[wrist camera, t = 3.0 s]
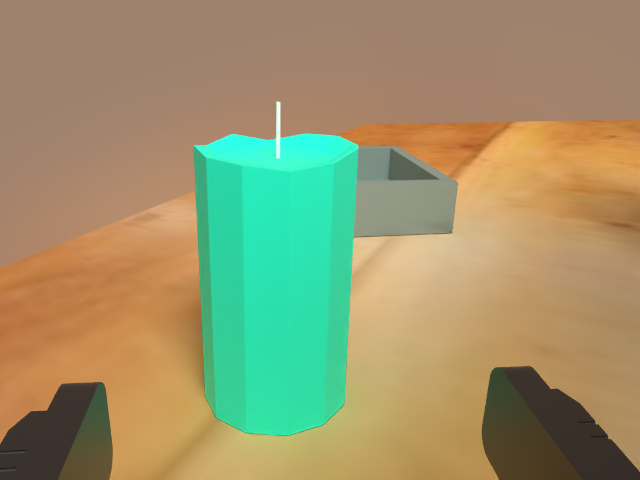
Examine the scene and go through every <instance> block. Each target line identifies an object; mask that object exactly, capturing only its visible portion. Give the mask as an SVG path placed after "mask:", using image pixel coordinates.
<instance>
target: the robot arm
mask: <svg viewBox="0 0 640 480" xmlns="http://www.w3.org/2000/svg"><path fill="white" fill-rule="evenodd" d="M482 440H483V446H484V450H485V453H486V456H487V458H488V460H489V462H490V463H491V465H492V467H493V469H494V471H495V472H496V474H497V476H498V478H499V480H640V472H639V470H638V469H637V468H636V467H635V466H634V465H633V464H632V462H631V461H630V460H629V459H628V458H627V457H626V456H625V454H624V453H623V452H622V451H621V450H620V449H619V448H618V446H617V445H616V444H615V443H614V442H613V441H612V440H611V439H608V435H607V434H606V433H605V432H604V430H603V429H602V428H601V427H600V426H599V425H596V424H595V420H594V419H593V418H592V417H591V416H590V414H589V413H588V412H587V411H586V410H585V409H584V408H583V406H582V405H581V404H580V403H578V402H577V401H575V400H574V399H572V398H571V397H569V396H568V395H566V394H565V393H563V392H562V391H560V390H558V389H550V388H549V386H548V385H547V384H546V383H545V382H544V380H543V379H542V378H541V377H540V376H539V374H538V373H537V372H536V371H535V370H534V369H533V368H532V367H530V366H521V367H497V368H494V369H493V370H492V372H491V375H490V381H489V387H488V393H487V400H486V406H485V412H484V418H483V425H482ZM112 457H113V449H112V438H111V430H110V421H109V413H108V405H107V396H106V389H105V386H104V384H103V383H102V382H94V383H69V384H62V385H61V386H60V387H59V389H58V391H57V393H56V394H55V396H54V398H53V400H52V402H51V404H50V406H49V408H48V410H47V411H31V412H30V413H29V414H27V415H26V416H25V417H24V418H23V419H21V420H20V421H19V422H18V423H17V424H15V425H14V426H13V427H12V428H11V429H9V431H8V432H7V434H6V436H5V437H4V439H3V441H2V442H1V444H0V480H109V479H110V474H111V468H112Z"/></svg>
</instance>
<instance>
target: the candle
mask: <svg viewBox="0 0 640 480" xmlns="http://www.w3.org/2000/svg"><path fill="white" fill-rule="evenodd" d="M357 163H358V145H357V144H355V143H353V142H350V141H348V140H346V139H344V138H341V137H339V136H331V135H319V134H300V135H295V136H289V137H284V138H280V102H276V139H272V140H264V139H258V138H253V137H246V136H241V135H235V134H231V135H229V136H227V137H224V138H222V139H220V140H218V141H215V142H213V143H211V144H208V145H206V146H202V145H194V165H195V188H196V209H197V231H198V253H199V274H200V296H201V317H202V339H203V360H204V382H205V397H206V399H207V401H208V403H209V405H210V407H211V409H212V411H213V412H214V414H215V416H216V418H218V419H220V420H222V421H224V422H226V423H228V424H230V425H231V426H233V427H235V428H237V429H239V430H241V431H243V432H245V433H253V434H268V435H284V436H288V435H291V434H295V433H298V432H301V431H304V430H308V429H311V428H314V427H318V426H321V425H324V424H325V423H326V422H327V421H328V420H329V419H330V418H331V417H332V416H333V415H334V414H335V413H336V412H337V411H338V410H339V409H340V408H341V407H342V406H343V405H344V400H345V382H346V364H347V345H348V327H349V309H350V291H351V272H352V254H353V236H354V218H355V200H356V181H357Z"/></svg>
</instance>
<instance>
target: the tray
mask: <svg viewBox="0 0 640 480" xmlns="http://www.w3.org/2000/svg"><path fill="white" fill-rule="evenodd" d="M457 186H458V182H456V181H455V180H453V179H451V178H450V177H448V176H446V175H445V174H443V173H441V172H440V171H438V170H436V169H435V168H433V167H431V166H430V165H428V164H426V163H425V162H423V161H421V160H420V159H418V158H416V157H414V156H413V155H411V154H409V153H408V152H406V151H404V150H403V149H401V148H399V147H398V146H358V163H357V181H356V200H355V218H354V236H353V237H364V236H388V235H412V234H436V233H452V229H453V220H454V212H455V203H456V195H457Z"/></svg>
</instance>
